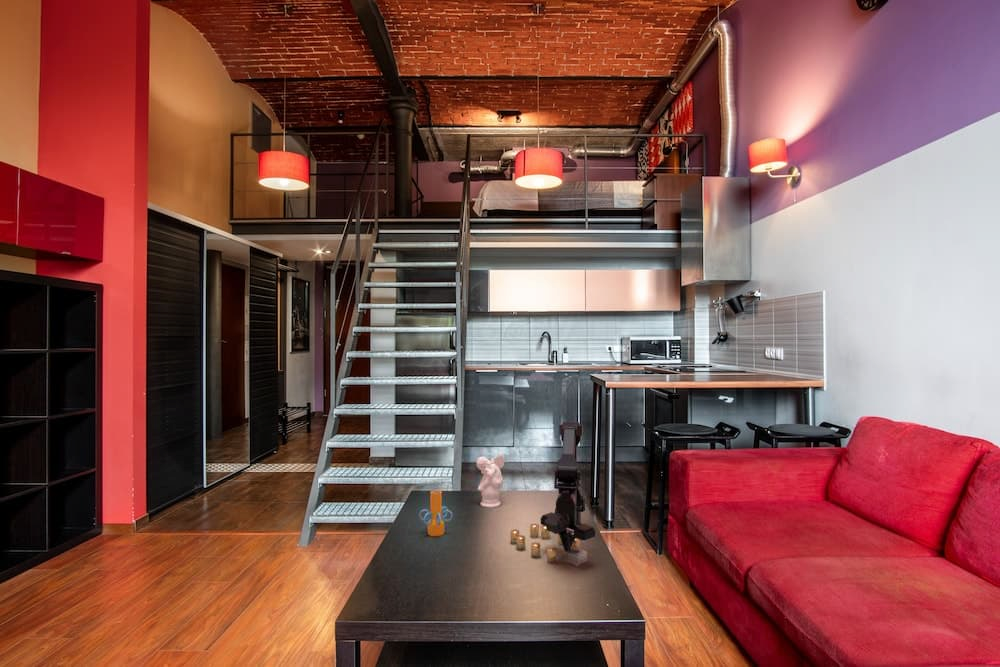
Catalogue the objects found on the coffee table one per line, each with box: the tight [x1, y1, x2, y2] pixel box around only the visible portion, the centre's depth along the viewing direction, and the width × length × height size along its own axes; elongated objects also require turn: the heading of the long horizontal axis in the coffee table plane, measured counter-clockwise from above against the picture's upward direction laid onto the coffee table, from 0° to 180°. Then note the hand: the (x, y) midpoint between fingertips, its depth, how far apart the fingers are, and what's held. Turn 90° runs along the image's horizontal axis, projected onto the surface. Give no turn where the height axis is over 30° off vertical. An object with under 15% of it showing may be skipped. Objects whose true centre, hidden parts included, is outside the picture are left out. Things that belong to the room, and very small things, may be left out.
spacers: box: [510, 523, 581, 565], centre depth 171 cm, size 17×22×4 cm
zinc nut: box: [564, 547, 588, 567], centre depth 160 cm, size 5×5×3 cm
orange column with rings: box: [418, 489, 454, 537], centre depth 183 cm, size 12×10×15 cm
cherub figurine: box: [476, 453, 506, 509], centre depth 217 cm, size 12×12×22 cm
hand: (566, 552), depth 163 cm, fingers closed
